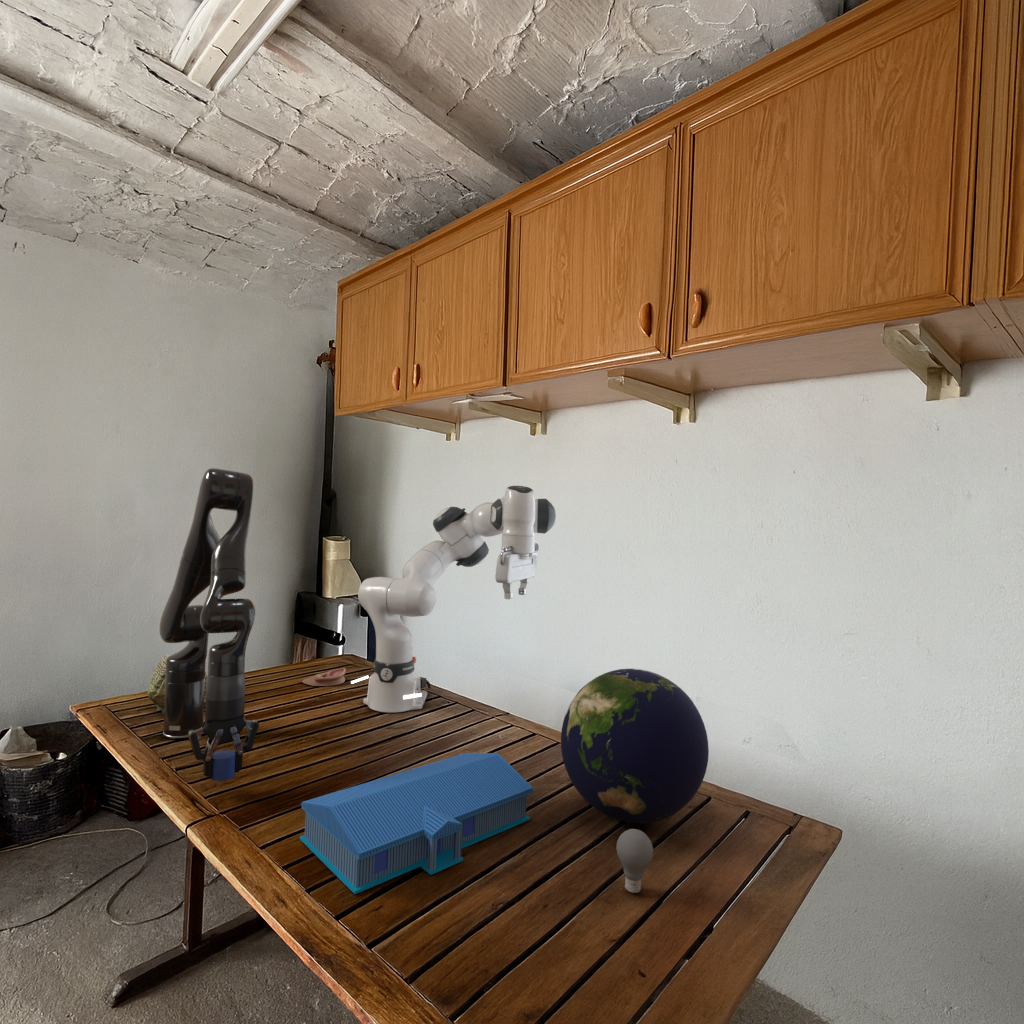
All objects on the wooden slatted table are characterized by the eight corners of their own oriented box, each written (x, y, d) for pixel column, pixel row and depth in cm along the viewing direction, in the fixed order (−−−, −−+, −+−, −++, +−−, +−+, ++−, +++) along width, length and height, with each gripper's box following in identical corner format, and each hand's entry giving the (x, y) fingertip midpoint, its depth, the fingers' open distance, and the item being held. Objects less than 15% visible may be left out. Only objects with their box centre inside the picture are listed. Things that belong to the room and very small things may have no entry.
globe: (537, 831, 123) (544, 678, 123) (580, 772, 151) (585, 647, 150) (696, 871, 112) (704, 703, 111) (710, 800, 140) (717, 665, 139)
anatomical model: (297, 672, 210) (315, 663, 221) (297, 684, 210) (314, 675, 221) (334, 676, 207) (350, 667, 219) (333, 688, 208) (349, 679, 219)
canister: (205, 779, 131) (206, 757, 131) (218, 770, 136) (219, 749, 136) (226, 782, 131) (227, 760, 130) (239, 772, 135) (240, 751, 135)
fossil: (144, 707, 182) (145, 655, 182) (212, 696, 194) (213, 647, 194) (151, 716, 175) (153, 662, 175) (221, 703, 188) (223, 653, 188)
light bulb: (610, 879, 108) (613, 822, 108) (644, 879, 109) (647, 822, 109) (619, 902, 102) (622, 840, 102) (655, 901, 103) (658, 840, 103)
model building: (364, 904, 99) (367, 841, 99) (298, 838, 117) (300, 784, 117) (541, 825, 125) (544, 775, 125) (465, 781, 144) (467, 737, 143)
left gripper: (191, 704, 126) (188, 789, 126) (266, 693, 134) (263, 772, 135) (184, 694, 131) (181, 775, 132) (255, 684, 140) (252, 760, 141)
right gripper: (513, 548, 160) (510, 602, 161) (541, 544, 179) (539, 593, 179) (490, 546, 163) (488, 600, 163) (521, 543, 182) (519, 591, 182)
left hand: (222, 773), depth 133 cm, fingers closed on canister, 4 cm apart
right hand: (515, 596), depth 171 cm, fingers open, 8 cm apart
